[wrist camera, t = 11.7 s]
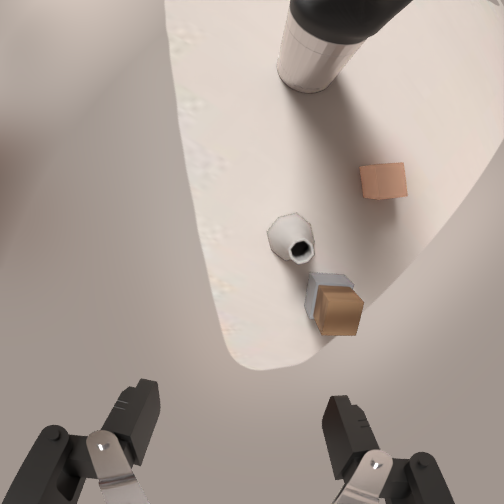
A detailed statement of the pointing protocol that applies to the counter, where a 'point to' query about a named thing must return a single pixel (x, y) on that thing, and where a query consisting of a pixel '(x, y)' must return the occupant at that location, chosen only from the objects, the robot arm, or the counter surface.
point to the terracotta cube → (383, 181)
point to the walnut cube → (337, 310)
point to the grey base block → (322, 279)
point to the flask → (292, 238)
